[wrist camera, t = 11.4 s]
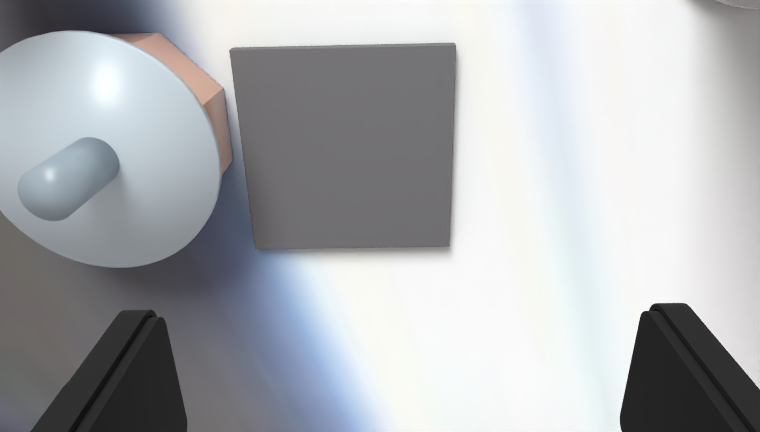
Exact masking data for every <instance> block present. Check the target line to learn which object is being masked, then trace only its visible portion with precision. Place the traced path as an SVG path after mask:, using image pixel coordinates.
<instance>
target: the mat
mask: <svg viewBox="0 0 760 432" xmlns="http://www.w3.org/2000/svg"><path fill="white" fill-rule="evenodd" d="M229 51H230V58H231V66H232V74H233V81H234V89H235V97H236V104H237V112H238V120H239V127H240V135H241V143H242V150H243V158H244V166H245V173H246V181H247V188H248V196H249V204H250V211H251V219H252V227H253V234H254V242H255V249H308V248H375V247H443V246H449V243H450V212H451V182H452V152H453V122H454V91H455V61H456V45H455V43H428V44H381V45H335V46H288V47H242V48H232V49H231V50H229Z"/></svg>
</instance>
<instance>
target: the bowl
mask: <svg viewBox="0 0 760 432" xmlns="http://www.w3.org/2000/svg"><path fill="white" fill-rule="evenodd" d="M106 35H110V36H113V37H116V38H119V39H122V40H125V41H127V42H129V43H131V44H134V45H136V46H138V47H140V48H142V49H144V50H145V51H147V52H149V53H150V54H152V55H154V56H155V57H157V58H158V59H159V60H161V61H162V62H163V63H165V64H166V65H167V66H169V67H170V68H171V69H172V70H173V71H174V72H175V73H176V74H177V75H178V76H180V77H181V78H182V79H183V80H184V81H185V83H186V84H187V85H188V86H189V87H190V89H191V90H192V91H193V92H194V93H195V95H196V96H197V98H198V99H199V101H200V102H201V104H202V105H203V107H204V108H205V110H206V112H207V114H208V116H209V118H210V120H211V122H212V125H213V127H214V130H215V133H216V136H217V139H218V143H219V148H220V153H221V163H222V175H223V173H224V172H225V170H226V169H227V168H228V166H229V165H230V164H231V162H232V161H233V155H232V147H231V140H230V133H229V126H228V119H227V111H226V104H225V97H224V90H223V87H222V86H221V85H220V84H218V83H217V82H216V81H215V80H214V79H213V78H212V77H210V76H209V75H208V74H207V73H206V72H205V71H203V70H202V69H201V68H200V67H199V66H198V65H196V64H195V63H194V62H193V61H192V60H191V59H190V58H188V57H187V56H186V55H185V54H184V53H183V52H181V51H180V50H179V49H178V48H177V47H176V46H175V45H173V44H172V43H171V42H170V41H169V40H168V39H166V38H165V37H164V36H163V35H162V34H161V33H131V34H106Z"/></svg>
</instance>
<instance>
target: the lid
mask: <svg viewBox="0 0 760 432" xmlns="http://www.w3.org/2000/svg"><path fill="white" fill-rule="evenodd" d="M221 177H222V163H221V153H220V148H219V143H218V139H217V136H216V133H215V130H214V127H213V125H212V122H211V120H210V118H209V116H208V114H207V112H206V110H205V108H204V107H203V105H202V104H201V102H200V101H199V99H198V98H197V96H196V95H195V93H194V92H193V91H192V90H191V89H190V87H189V86H188V85H187V84H186V83H185V81H184V80H183V79H182V78H181V77H180V76H178V75H177V74H176V73H175V72H174V71H173V70H172V69H171V68H170V67H169V66H167V65H166V64H165V63H163V62H162V61H161V60H159V59H158V58H157V57H155V56H154V55H152V54H150V53H149V52H147V51H145V50H144V49H142V48H140V47H138V46H136V45H134V44H131V43H129V42H127V41H125V40H122V39H119V38H116V37H113V36H110V35H106V34H101V33H96V32H90V31H76V30H67V31H57V32H51V33H47V34H42V35H38V36H34V37H30V38H27V39H25V40H23V41H20V42H18V43H16V44H14V45H12V46H10V47H9V48H7V49H6V50H4V51H2V52H1V53H0V210H1V212H2V213H3V214H4V215H5V216H6V217H7V218H8V219H9V220H10V221H11V222H12V223H13V224H14V225H15V226H16V227H17V228H18V229H19V230H21V231H22V232H23V233H25V234H26V235H27V236H29V237H30V238H31V239H33V240H34V241H36V242H37V243H39V244H41V245H42V246H44V247H45V248H47V249H49V250H51V251H53V252H55V253H57V254H59V255H62V256H64V257H67V258H70V259H72V260H75V261H78V262H82V263H86V264H90V265H95V266H102V267H114V268H125V267H137V266H142V265H147V264H151V263H154V262H157V261H160V260H163V259H165V258H167V257H169V256H171V255H173V254H175V253H176V252H178V251H179V250H180V249H182V248H183V247H185V246H186V245H187V244H188V243H189V242H190V241H191V240H193V239H194V238H195V237H196V235H197V234H198V233H199V231H200V230H201V229H202V228H203V226H204V225H205V223H206V222H207V220H208V218H209V217H210V215H211V213H212V211H213V210H214V207H215V204H216V202H217V199H218V196H219V191H220V186H221Z"/></svg>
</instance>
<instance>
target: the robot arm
mask: <svg viewBox="0 0 760 432" xmlns="http://www.w3.org/2000/svg"><path fill="white" fill-rule="evenodd" d="M714 1H716V2H720V3H723V4H726V5H729V6H733V7H739V8H746V9H760V0H714ZM620 426H621V430H622V432H760V389H759V388H758V387H757V386H756V385H755V383H754V382H753V381H752V380H751V379H750V378H749V376H748V375H747V374H746V373H745V372H744V370H743V369H742V368H741V367H740V366H739V365H738V363H737V362H736V361H735V360H734V359H733V357H732V356H731V355H730V354H729V353H728V351H727V350H726V349H725V348H724V347H723V346H722V344H721V343H720V342H719V341H718V340H717V338H716V337H715V336H714V335H713V334H712V333H711V331H710V330H709V329H708V328H707V327H706V325H705V324H704V323H703V322H702V321H701V319H700V318H699V317H698V316H697V315H696V314H695V312H694V311H693V310H692V309H691V308H690V307H689V306H688V305H687V304H684V303H655V304H653V305H652V306H651V307H650V310H649V311H644V312H643V313H642V314H641V317H640V321H639V326H638V331H637V335H636V340H635V345H634V350H633V355H632V360H631V365H630V369H629V374H628V379H627V384H626V389H625V394H624V399H623V403H622V408H621V413H620ZM31 432H187V417H186V413H185V408H184V403H183V399H182V394H181V390H180V385H179V381H178V376H177V372H176V367H175V363H174V358H173V353H172V349H171V344H170V340H169V335H168V331H167V326H166V322H165V320H164V318H162V317H157V316H156V313H155V312H154V311H153V310H124V311H121V312H120V313H119V314H118V315H117V317H116V318H115V319H114V321H113V322H112V323H111V325H110V326H109V327H108V329H107V330H106V332H105V333H104V334H103V336H102V337H101V338H100V340H99V341H98V342H97V344H96V345H95V347H94V348H93V349H92V351H91V352H90V353H89V355H88V356H87V358H86V359H85V360H84V362H83V363H82V364H81V366H80V367H79V368H78V370H77V371H76V373H75V374H74V375H73V377H72V378H71V379H70V381H69V382H68V383H67V384H66V385H65V386H64V387H63V388H62V390H61V391H60V392H59V394H58V395H57V396H56V398H55V399H54V400H53V402H52V403H51V405H50V406H49V407H48V409H47V410H46V411H45V413H44V414H43V415H42V417H41V418H40V419H39V421H38V422H37V424H36V425H35V426H34V428H33V429H32V430H31Z"/></svg>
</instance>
